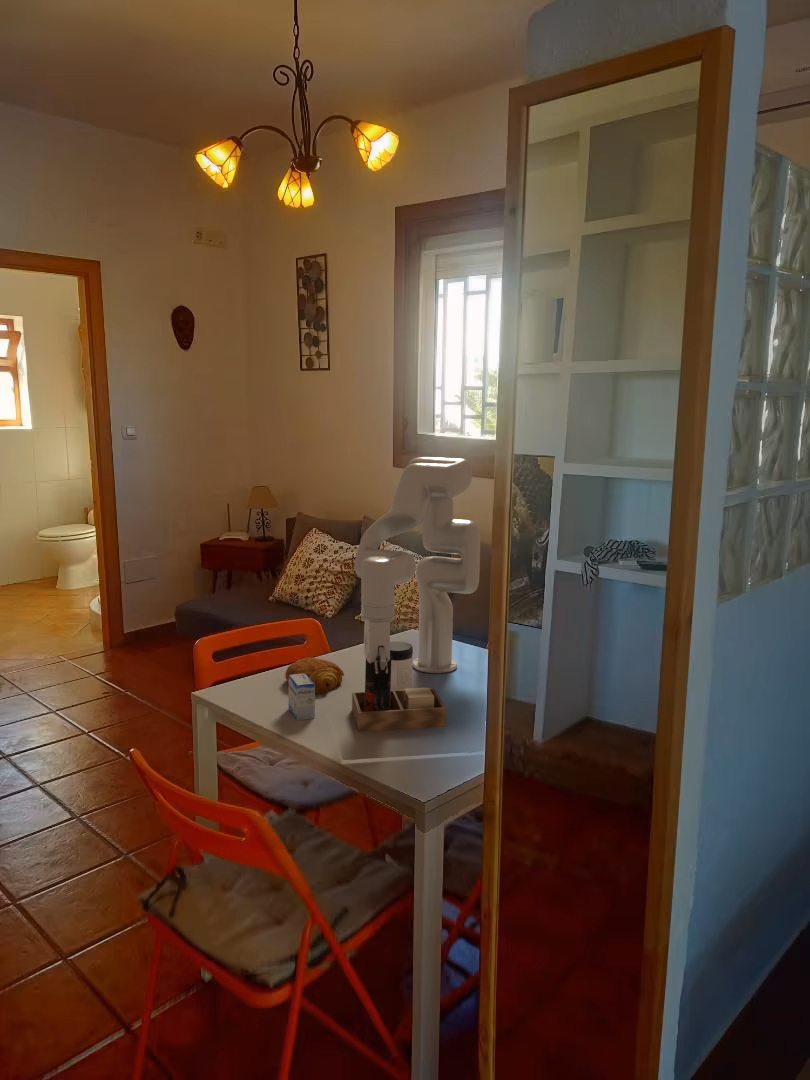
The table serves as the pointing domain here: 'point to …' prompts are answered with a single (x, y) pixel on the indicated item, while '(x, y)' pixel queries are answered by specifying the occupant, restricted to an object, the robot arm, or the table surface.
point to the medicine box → (301, 696)
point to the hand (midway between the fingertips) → (377, 681)
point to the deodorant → (376, 698)
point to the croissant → (317, 673)
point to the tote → (397, 714)
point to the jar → (401, 665)
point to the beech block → (418, 698)
